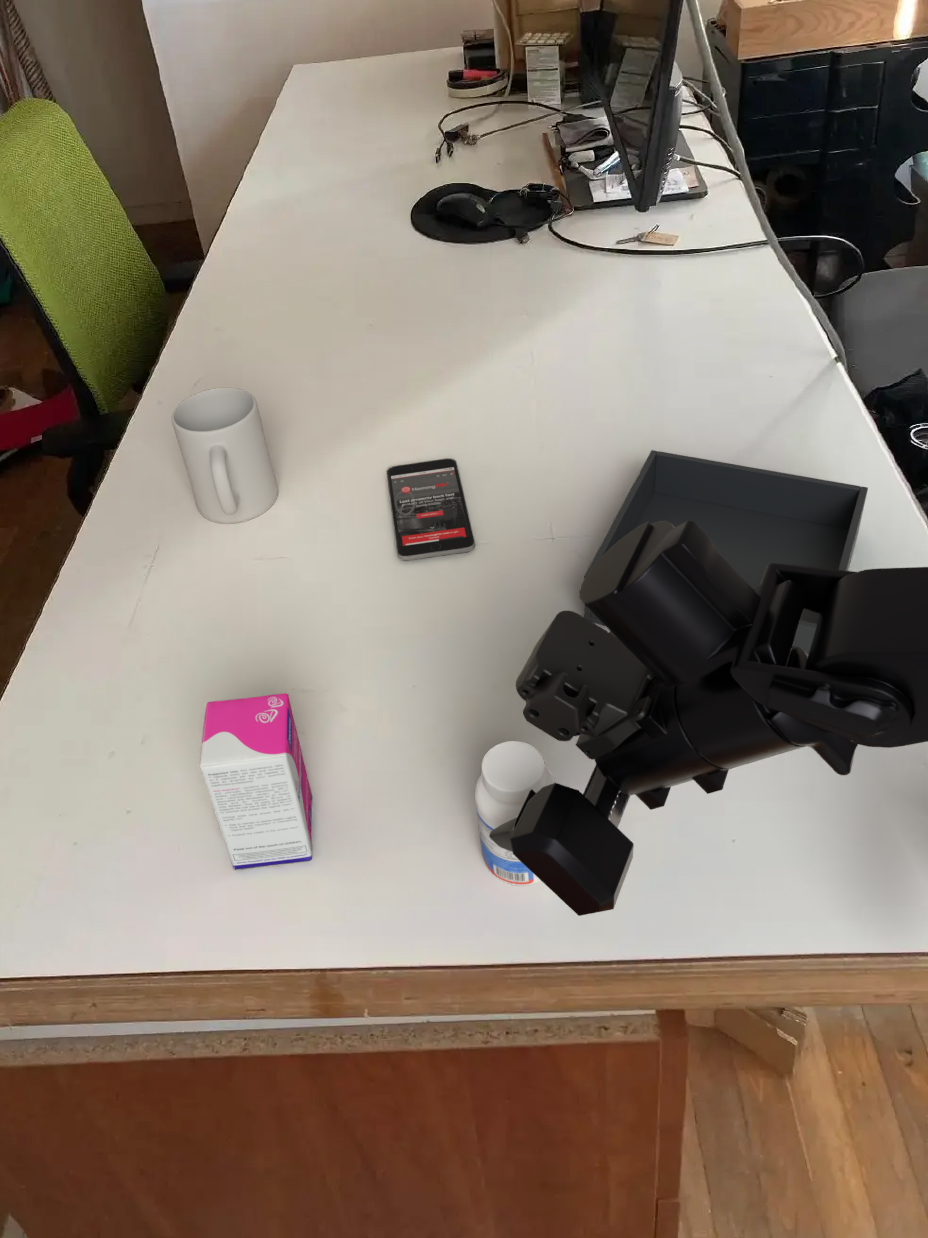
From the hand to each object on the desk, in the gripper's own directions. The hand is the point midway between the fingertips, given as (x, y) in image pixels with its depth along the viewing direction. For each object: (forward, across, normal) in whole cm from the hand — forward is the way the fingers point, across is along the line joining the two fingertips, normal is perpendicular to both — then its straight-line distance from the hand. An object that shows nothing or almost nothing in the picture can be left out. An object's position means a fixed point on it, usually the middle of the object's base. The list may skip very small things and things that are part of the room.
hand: (523, 782), depth 65 cm
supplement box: (+18, +5, -6) cm, 20 cm away
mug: (+36, -27, -24) cm, 51 cm away
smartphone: (+22, -33, -11) cm, 41 cm away
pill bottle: (+6, 0, +6) cm, 8 cm away
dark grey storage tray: (+2, -33, +10) cm, 34 cm away
